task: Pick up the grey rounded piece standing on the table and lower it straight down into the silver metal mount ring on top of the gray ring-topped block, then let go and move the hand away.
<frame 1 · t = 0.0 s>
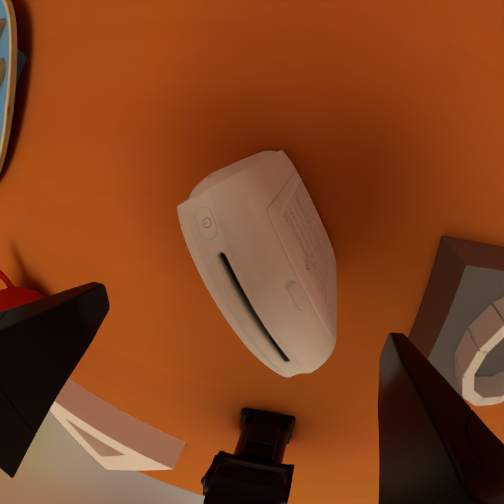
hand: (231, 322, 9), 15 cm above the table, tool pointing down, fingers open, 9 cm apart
gray ring-topped block: (484, 308, 21), on the table
white rounded device: (289, 213, 22), on the table
triangle block: (128, 425, 45), on the table
ceramic cup: (38, 296, 35), on the table
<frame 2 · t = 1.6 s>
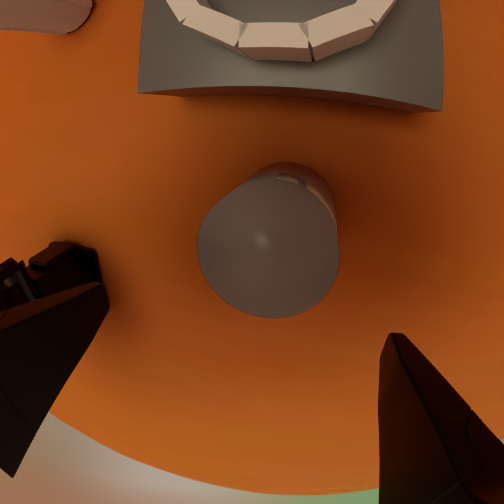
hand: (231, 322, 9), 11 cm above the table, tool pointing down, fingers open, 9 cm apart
gray ring-topped block: (296, 6, 13), on the table
grey rounded piece: (286, 210, 19), on the table
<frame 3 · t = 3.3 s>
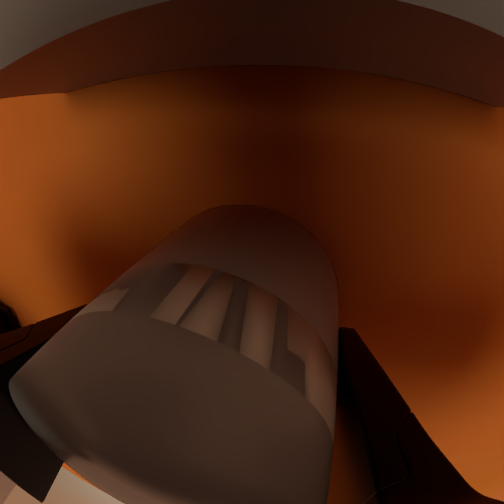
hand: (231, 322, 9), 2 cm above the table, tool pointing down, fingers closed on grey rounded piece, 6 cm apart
grey rounded piece: (245, 294, 10), on the table, touching gripper
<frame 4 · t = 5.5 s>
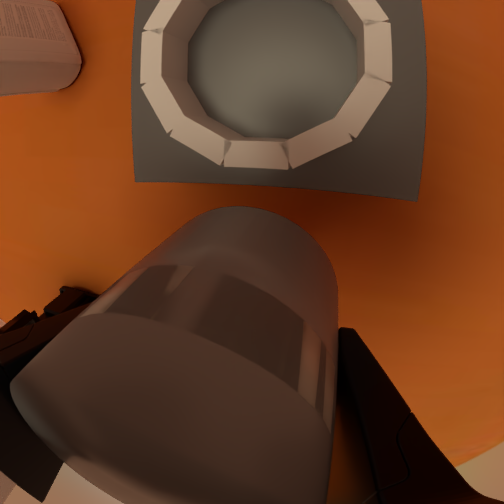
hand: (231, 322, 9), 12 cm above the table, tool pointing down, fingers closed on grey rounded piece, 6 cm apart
gray ring-topped block: (283, 73, 15), on the table
white rounded device: (59, 43, 17), on the table
grey rounded piece: (245, 295, 10), point 10 cm above the table, touching gripper
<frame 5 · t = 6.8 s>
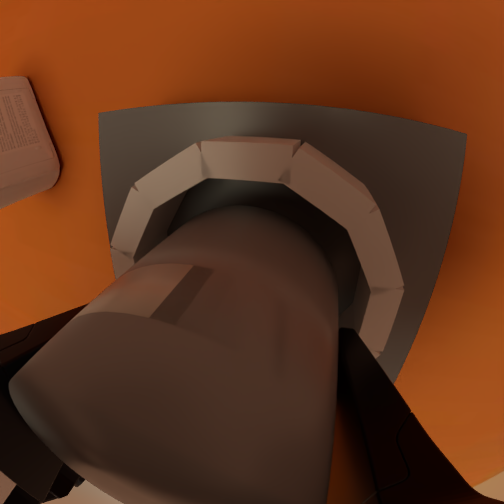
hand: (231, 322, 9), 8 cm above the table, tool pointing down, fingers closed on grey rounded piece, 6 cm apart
gray ring-topped block: (278, 223, 16), on the table
white rounded device: (35, 130, 17), on the table
grey rounded piece: (244, 294, 10), point 7 cm above the table, touching gripper
when the fingers open (8 cm above the table, at t = 7.8 s): grey rounded piece drops 2 cm, resting on gray ring-topped block.
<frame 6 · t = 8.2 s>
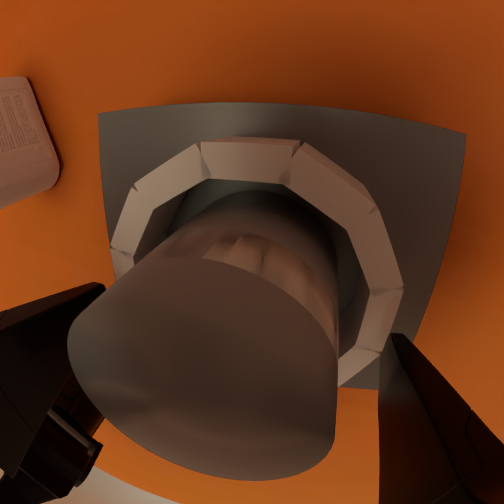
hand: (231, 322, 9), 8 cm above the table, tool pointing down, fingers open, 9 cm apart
gray ring-topped block: (278, 224, 16), on the table
white rounded device: (34, 130, 17), on the table
grey rounded piece: (257, 268, 12), point 5 cm above the table, touching gray ring-topped block
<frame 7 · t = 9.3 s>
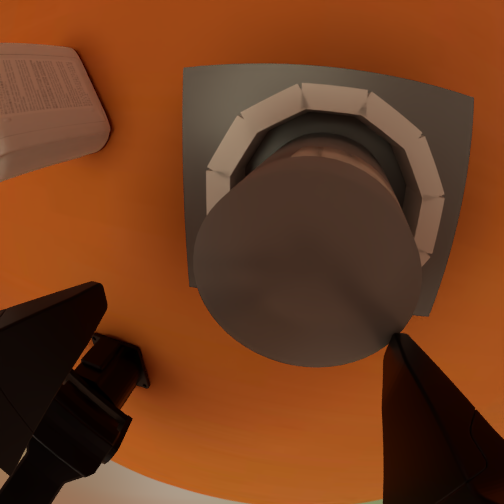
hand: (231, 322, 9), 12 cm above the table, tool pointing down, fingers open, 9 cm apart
gray ring-topped block: (324, 176, 18), on the table
white rounded device: (81, 98, 19), on the table
grey rounded piece: (324, 198, 13), point 5 cm above the table, tilted 6°, touching gray ring-topped block, gripper
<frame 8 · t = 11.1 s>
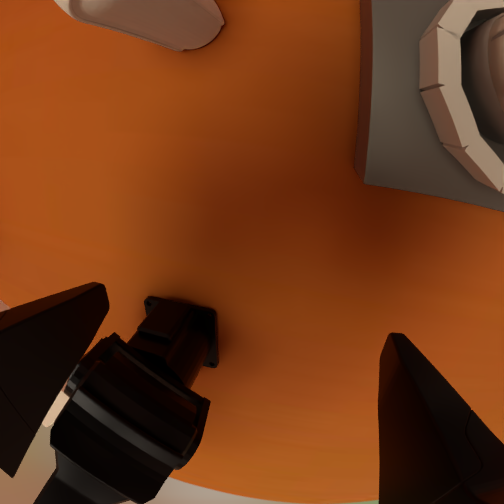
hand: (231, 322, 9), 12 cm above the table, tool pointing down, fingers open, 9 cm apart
gray ring-topped block: (464, 96, 13), on the table
triangle block: (56, 360, 38), on the table
grey rounded piece: (500, 85, 9), point 5 cm above the table, touching gray ring-topped block
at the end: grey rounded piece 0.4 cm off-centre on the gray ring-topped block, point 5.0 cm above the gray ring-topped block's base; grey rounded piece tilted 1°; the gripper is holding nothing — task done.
